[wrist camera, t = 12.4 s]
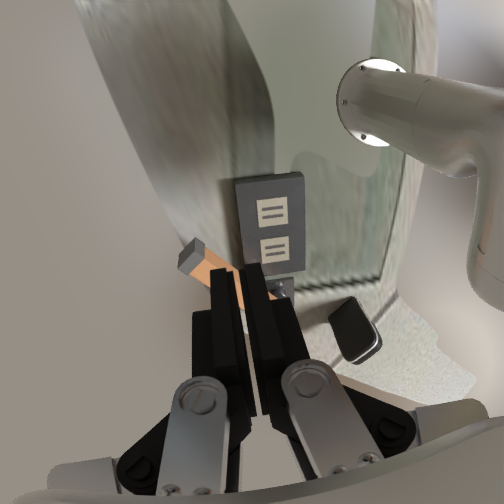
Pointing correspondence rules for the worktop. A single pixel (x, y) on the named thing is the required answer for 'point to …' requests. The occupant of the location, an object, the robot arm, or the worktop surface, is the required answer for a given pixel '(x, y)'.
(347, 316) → the battery charger
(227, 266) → the swing bar
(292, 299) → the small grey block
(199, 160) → the worktop surface
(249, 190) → the label panel
